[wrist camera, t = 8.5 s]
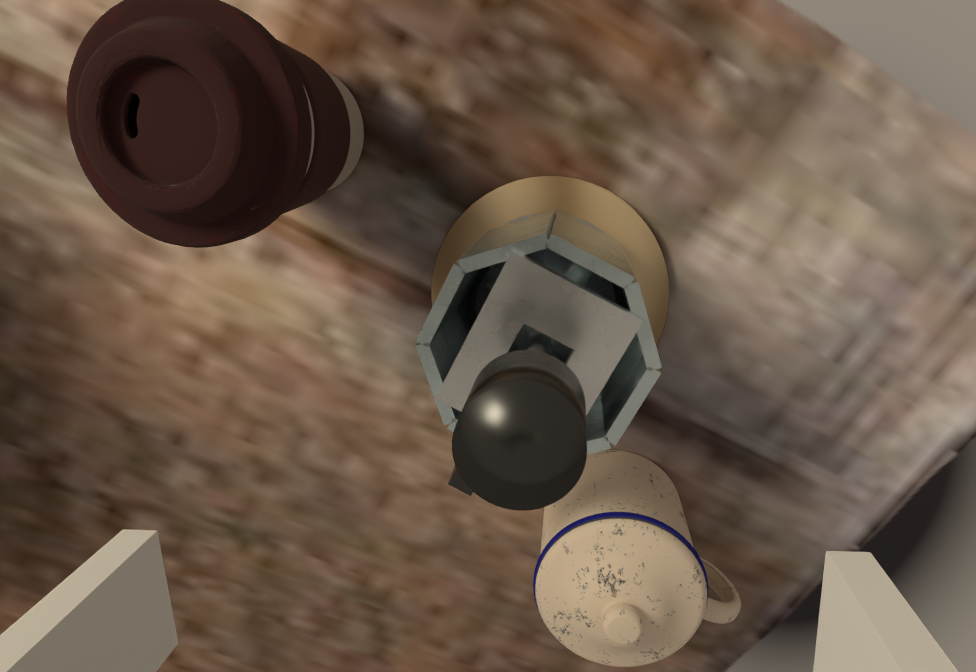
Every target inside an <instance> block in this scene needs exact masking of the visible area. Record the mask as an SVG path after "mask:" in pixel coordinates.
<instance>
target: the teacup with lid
mask: <svg viewBox="0 0 976 672" xmlns="http://www.w3.org/2000/svg"><path fill="white" fill-rule="evenodd" d="M708 587H709V588H710V589H711V590H712V591H713V592H714V594H715V595H716V596H717V598H718V599H719V601H717V600H714V599H711V598H709V597H708ZM533 588H534V597H535V601H536V605H537V608H538V610H539V613H540V615H541V617H542V619H543V621H544V623H545V624H546V626H547V627H548V629H549V630H550V632H551V633H552V634H553V635H554V636H555V637H556V638H557V639H558V640H559V641H560V642H561V643H562V644H563V645H564V646H565V647H567V648H568V649H569V650H571V651H572V652H574V653H576V654H577V655H579V656H581V657H583V658H585V659H587V660H590V661H593V662H596V663H600V664H603V665H609V666H617V667H633V666H641V665H646V664H650V663H653V662H656V661H659V660H661V659H664V658H666V657H668V656H670V655H671V654H673V653H675V652H676V651H678V650H679V649H680V648H681V647H683V646H684V645H685V644H686V643H687V642H688V641H689V640H690V638H691V637H692V636H693V635H694V633H695V632H696V630H697V629H698V627H699V625H700V624H701V622H702V619H704V620H707V621H710V622H713V623H720V624H725V623H729V622H732V621H733V620H734V619H735V618H736V617H737V615H738V613H739V612H740V609H741V600H740V597H739V594H738V592H737V591H736V589H735V587H734V586H733V584H732V583H731V582H730V581H729V579H728V578H727V577H726V576H725V575H724V574H723V573H722V572H721V571H720V570H719V569H718V568H716V567H715V566H714V565H713V564H711V563H710V562H708V561H707V560H705V559H703V558H702V557H700V556H699V555H698V554H697V552H696V550H695V549H694V547H693V543H692V540H691V536H690V533H689V529H688V526H687V522H686V519H685V516H684V512H683V509H682V505H681V502H680V498H679V495H678V493H677V490H676V488H675V486H674V484H673V483H672V481H671V480H670V478H669V477H668V476H667V474H666V473H665V472H664V471H663V470H662V469H661V468H659V467H658V466H657V465H656V464H654V463H653V462H651V461H650V460H648V459H646V458H644V457H642V456H640V455H637V454H634V453H630V452H626V451H620V450H603V451H599V452H595V453H591V454H587V459H586V464H585V468H584V470H583V473H582V475H581V477H580V479H579V481H578V482H577V484H576V485H575V486H574V488H573V489H572V490H571V491H570V492H569V493H568V494H567V495H565V496H564V497H563V498H562V499H560V500H558V501H557V502H555V503H553V504H551V505H548V506H546V507H545V508H544V519H543V530H542V541H541V552H540V557H539V559H538V561H537V564H536V568H535V572H534V581H533Z"/></svg>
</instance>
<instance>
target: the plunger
mask: <svg viewBox="0 0 976 672" xmlns="http://www.w3.org/2000/svg"><path fill="white" fill-rule="evenodd" d="M525 256H527V257H529V258H531V259H532V260H534V261H536V262H538V263H540V264H542V265H544V266H546V267H548V268H549V269H551V270H553V271H555V272H557V273H559V274H561V275H563V276H565V277H567V278H568V279H570V280H572V281H574V282H576V283H578V284H580V285H582V286H584V287H586V288H587V289H589V290H591V291H593V292H595V293H597V294H599V295H601V296H603V297H604V298H606V299H608V300H610V301H612V302H614V303H616V300H615V295H614V290H613V287H612V284H611V281H609V280H607V279H605V278H603V277H601V276H599V275H598V274H596V273H594V272H592V271H590V270H588V269H586V268H584V267H582V266H580V265H579V264H577V263H575V262H573V261H571V260H569V259H567V258H565V257H563V256H562V255H560V254H558V253H556V252H554V251H552V250H550V249H548V248H546V249H543V250H539V251H536V252H533V253H530V254H526V255H525ZM505 263H506V261H504V262H500V263H497V264H494V265H492V266H491V267H490V268H489V270H488V271H487V273H486V275H485V276H484V278H483V280H482V283H481V285H480V288H479V291H478V295H477V302H476V314H477V317H478V315H479V313H480V311H481V309H482V307H483V305H484V303H485V301H486V300H487V298H488V296H489V294H490V292H491V290H492V288H493V286H494V284H495V282H496V280H497V278H498V276H499V275H500V273H501V271H502V269H503V267H504V265H505ZM572 351H573V349H572V348H570V347H568V346H566V345H564V344H562V343H560V342H558V341H557V340H555V339H553V338H551V337H549V336H547V335H545V334H543V333H541V332H539V331H538V330H536V329H534V328H532V327H530V326H528V325H526V324H524V323H523V325H522V327H521V329H520V331H519V332H518V334H517V336H516V338H515V340H514V342H513V343H512V345H511V347H510V349H509V351H508V353H506V354H503V355H501V356H499V357H497V358H495V359H494V360H492V361H491V362H489V363H488V364H487V365H486V366H485V367H484V368H483V369H482V370H481V372H480V373H479V374H478V376H477V378H476V379H475V382H474V384H473V386H472V389H471V391H470V393H469V395H468V398H467V400H466V402H465V405H464V407H463V409H462V412H461V414H460V416H459V418H458V421H457V423H456V425H455V429H454V432H453V438H452V452H453V458H454V462H455V465H456V468H457V470H458V472H459V474H460V476H461V477H462V479H463V481H464V482H465V483H466V484H467V486H468V487H469V488H470V489H471V490H472V491H473V492H474V493H476V494H477V495H478V496H480V497H481V498H482V499H484V500H486V501H487V502H489V503H492V504H494V505H496V506H499V507H502V508H506V509H512V510H533V509H539V508H542V507H546V506H548V505H551V504H553V503H555V502H557V501H558V500H560V499H562V498H563V497H564V496H565V495H567V494H568V493H569V492H570V491H571V490H572V489H573V488H574V486H575V485H576V484H577V482H578V481H579V479H580V477H581V475H582V473H583V470H584V468H585V464H586V459H587V433H586V404H585V396H584V392H583V389H582V386H581V384H580V382H579V380H578V378H577V377H576V375H575V374H574V373H573V371H572V370H571V369H570V368H569V367H568V366H567V365H566V364H565V363H566V361H567V359H568V358H569V356H570V354H571V352H572Z"/></svg>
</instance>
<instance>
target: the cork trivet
mask: <svg viewBox="0 0 976 672" xmlns="http://www.w3.org/2000/svg"><path fill="white" fill-rule="evenodd" d="M553 209H555V212H557V211H558V210H561V211H563V212H565V213H567V214H569V215H573V216H576V217H579V218H581V219H584V220H586V221H588V222H590V223H592V224H593V225H595V226H597V227H598V228H600V229H601V230H602V231H603V232H605V233H606V234H607V235H608V236H610V237H612V238H614V239H616V240H618V241H619V243H620V245H622V247H623V249H624V251H625V253H626V256H627V258H628V260H629V262H630V265H631V267H632V269H633V271H634V273H635V276H636V278H637V280H638V283H639V286H640V290H641V293H642V297H643V301H644V304H645V308H646V311H647V315H648V319H649V322H650V326H651V330H652V333H653V337H654V340H655V344H656V345H657V343H658V341H659V339H660V336H661V334H662V331H663V329H664V326H665V322H666V317H667V313H668V305H669V279H668V273H667V267H666V263H665V260H664V257H663V254H662V251H661V249H660V247H659V245H658V242H657V240H656V238H655V236H654V235H653V233H652V232H651V230H650V229H649V227H648V226H647V224H646V223H645V222H644V220H643V219H642V218H641V217H640V216H639V215H638V214H637V212H636V211H635V210H634V209H633V208H632V207H630V206H629V205H628V204H627V203H626V202H625V201H623V200H622V199H621V198H619V197H618V196H616V195H615V194H613V193H611V192H610V191H608V190H606V189H604V188H602V187H600V186H598V185H596V184H593V183H590V182H587V181H584V180H580V179H576V178H570V177H564V176H538V177H529V178H525V179H521V180H517V181H514V182H511V183H508V184H506V185H503V186H501V187H499V188H497V189H495V190H493V191H491V192H489V193H488V194H486V195H484V196H483V197H482V198H480V199H479V200H477V201H476V202H475V203H473V204H472V205H471V206H470V207H469V208H468V209H467V210H466V211H465V212H464V213H463V214H462V215H461V216H460V217H459V218H458V220H457V221H456V222H455V223H454V225H453V226H452V227H451V229H450V231H449V232H448V234H447V236H446V237H445V239H444V241H443V243H442V245H441V248H440V250H439V252H438V255H437V259H436V262H435V266H434V270H433V277H432V294H431V299H432V307H433V305H434V303H435V301H436V299H437V297H438V295H439V293H440V291H441V289H442V287H443V285H444V283H445V281H446V279H447V277H448V275H449V273H450V270H451V268H452V266H453V264H454V263H455V262H456V261H457V260H458V259H459V258H460V257H461V256H463V255H464V254H465V253H466V252H467V251H468V250H469V249H470V248H471V247H472V246H473V245H474V244H475V243H476V242H477V241H478V240H479V239H480V238H481V237H482V236H483V235H484V234H485V233H486V232H488V231H489V230H490V229H493V228H496V227H499V226H502V225H504V224H506V223H508V222H510V221H511V220H514V219H516V218H519V217H521V216H525V215H529V214H533V213H541V212H546V211H550V210H553Z"/></svg>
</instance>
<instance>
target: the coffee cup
mask: <svg viewBox="0 0 976 672" xmlns="http://www.w3.org/2000/svg"><path fill="white" fill-rule="evenodd" d="M67 116H68V123H69V129H70V135H71V140H72V143H73V146H74V149H75V152H76V155H77V158H78V160H79V162H80V164H81V167H82V169H83V171H84V173H85V175H86V176H87V178H88V180H89V181H90V183H91V184H92V186H93V187H94V189H95V190H96V192H97V193H98V195H99V196H100V197H101V198H102V199H103V200H104V202H105V203H106V204H107V205H108V206H109V207H110V208H111V209H112V210H113V211H114V212H115V213H116V214H117V215H118V216H120V217H121V218H122V219H123V220H124V221H126V222H127V223H128V224H130V225H131V226H133V227H134V228H136V229H137V230H139V231H141V232H142V233H144V234H146V235H148V236H150V237H152V238H154V239H157V240H160V241H163V242H165V243H169V244H174V245H179V246H184V247H196V248H199V247H212V246H218V245H223V244H227V243H230V242H234V241H237V240H241V239H244V238H247V237H249V236H251V235H253V234H256V233H258V232H259V231H261V230H263V229H264V228H266V227H267V226H268V225H270V224H271V223H272V222H274V221H275V220H276V219H277V218H278V217H279V216H280V215H281V214H283V213H286V212H288V211H291V210H293V209H295V208H298V207H300V206H303V205H305V204H307V203H310V202H312V201H313V200H315V199H317V198H318V197H320V196H321V195H323V194H324V193H325V192H327V191H329V190H331V189H333V188H335V187H336V186H338V185H340V184H341V183H342V182H343V181H345V179H346V178H347V177H348V176H349V175H350V174H351V173H352V171H353V170H354V168H355V167H356V165H357V163H358V161H359V158H360V155H361V152H362V148H363V141H364V127H363V120H362V116H361V112H360V110H359V107H358V105H357V102H356V101H355V99H354V97H353V95H352V94H351V92H350V91H349V90H348V88H347V87H346V86H345V85H344V84H343V83H342V82H341V81H340V80H339V79H338V78H337V77H335V76H334V75H333V74H331V73H329V72H328V71H326V70H324V69H323V68H322V67H321V66H320V65H319V64H317V63H316V62H315V61H313V60H312V59H311V58H309V57H308V56H306V55H304V54H302V53H300V52H299V51H297V50H295V49H293V48H291V47H289V46H287V45H286V44H284V43H282V42H280V41H278V40H276V39H275V38H274V37H273V36H272V35H271V34H270V33H269V32H268V31H267V30H266V29H265V28H264V27H263V26H262V25H261V24H260V23H259V22H257V21H256V20H255V19H253V18H252V17H250V16H249V15H248V14H246V13H244V12H243V11H241V10H239V9H238V8H235V7H233V6H231V5H229V4H227V3H225V2H222V1H220V0H124V1H122V2H120V3H119V4H117V5H115V6H114V7H112V8H110V9H109V10H108V11H107V12H106V13H105V14H104V15H102V16H101V17H100V18H99V19H98V20H97V21H96V22H95V24H94V25H93V26H92V27H91V29H90V30H89V31H88V33H87V34H86V36H85V37H84V39H83V41H82V43H81V45H80V47H79V49H78V51H77V53H76V56H75V58H74V61H73V64H72V67H71V71H70V75H69V81H68V87H67Z"/></svg>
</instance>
